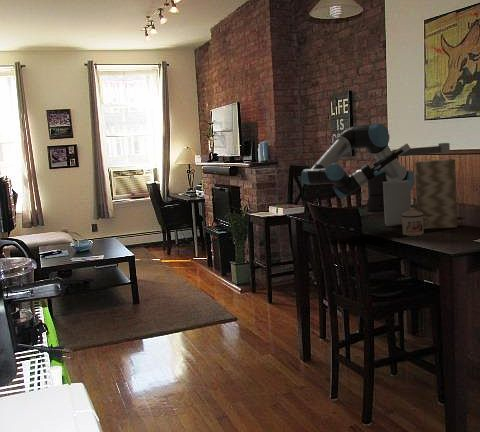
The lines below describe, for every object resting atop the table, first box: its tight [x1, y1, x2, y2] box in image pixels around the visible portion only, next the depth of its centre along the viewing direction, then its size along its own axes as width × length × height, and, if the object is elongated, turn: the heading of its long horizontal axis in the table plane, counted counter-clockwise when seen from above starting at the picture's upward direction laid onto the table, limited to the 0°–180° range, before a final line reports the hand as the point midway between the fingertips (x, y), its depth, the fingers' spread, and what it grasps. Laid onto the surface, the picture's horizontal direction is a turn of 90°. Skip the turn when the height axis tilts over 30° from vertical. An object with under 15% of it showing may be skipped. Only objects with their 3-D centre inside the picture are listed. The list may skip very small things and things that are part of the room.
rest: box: [383, 180, 412, 227], centre depth 254 cm, size 12×10×20 cm
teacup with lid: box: [401, 207, 430, 237], centre depth 226 cm, size 12×9×12 cm
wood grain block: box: [414, 158, 458, 230], centre depth 237 cm, size 16×9×30 cm, turn 76°
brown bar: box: [391, 142, 451, 157], centre depth 236 cm, size 24×8×4 cm, turn 77°
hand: (408, 145), depth 237 cm, fingers closed on brown bar, 3 cm apart
